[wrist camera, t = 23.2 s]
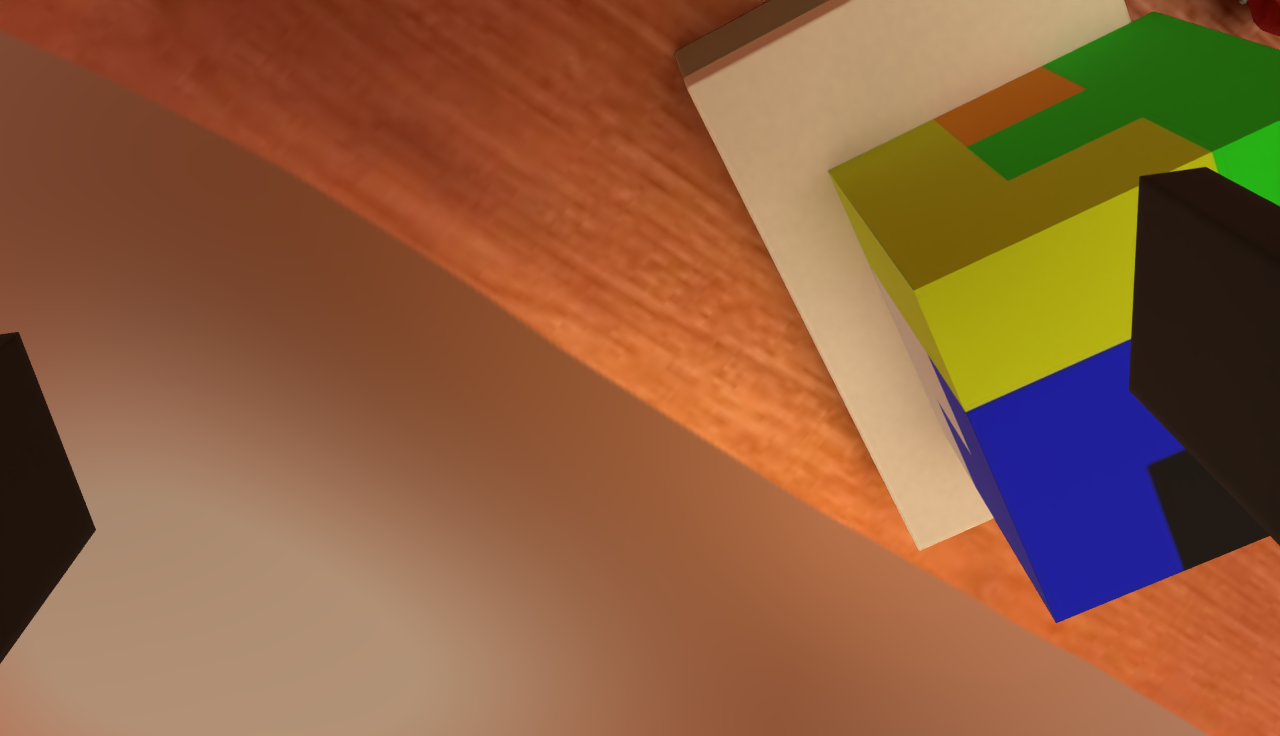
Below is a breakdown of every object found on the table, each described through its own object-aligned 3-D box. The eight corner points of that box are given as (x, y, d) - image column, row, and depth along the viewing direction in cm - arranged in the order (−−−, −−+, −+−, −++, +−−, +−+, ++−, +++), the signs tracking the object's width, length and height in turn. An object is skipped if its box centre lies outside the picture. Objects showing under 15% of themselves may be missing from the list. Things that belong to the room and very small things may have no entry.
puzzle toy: (945, 435, 38) (1056, 622, 29) (827, 170, 34) (913, 290, 25) (1241, 304, 36) (1456, 459, 27) (1153, 11, 33) (1370, 78, 24)
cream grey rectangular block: (672, 52, 38) (686, 87, 33) (1011, -130, 36) (1085, -125, 31) (879, 466, 45) (919, 552, 40) (1173, 332, 43) (1256, 402, 38)
